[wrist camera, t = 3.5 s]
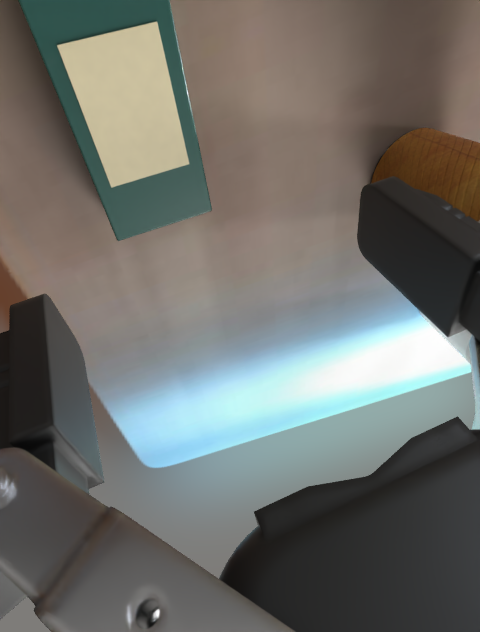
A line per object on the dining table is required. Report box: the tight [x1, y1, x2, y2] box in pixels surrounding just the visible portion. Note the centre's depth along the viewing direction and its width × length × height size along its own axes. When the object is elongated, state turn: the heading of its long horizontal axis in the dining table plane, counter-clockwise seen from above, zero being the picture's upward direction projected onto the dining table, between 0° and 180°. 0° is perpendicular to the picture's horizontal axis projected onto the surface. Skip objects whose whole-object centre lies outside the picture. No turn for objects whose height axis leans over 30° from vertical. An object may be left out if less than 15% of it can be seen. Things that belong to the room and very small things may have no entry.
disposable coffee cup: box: [372, 128, 480, 223], centre depth 27 cm, size 10×10×12 cm
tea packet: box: [18, 0, 212, 241], centre depth 20 cm, size 12×5×3 cm, turn 7°
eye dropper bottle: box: [419, 310, 472, 364], centre depth 39 cm, size 4×6×12 cm
